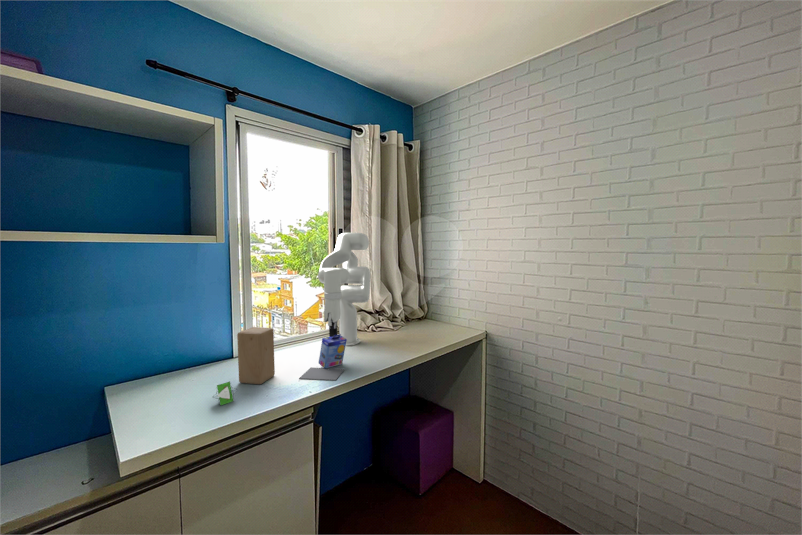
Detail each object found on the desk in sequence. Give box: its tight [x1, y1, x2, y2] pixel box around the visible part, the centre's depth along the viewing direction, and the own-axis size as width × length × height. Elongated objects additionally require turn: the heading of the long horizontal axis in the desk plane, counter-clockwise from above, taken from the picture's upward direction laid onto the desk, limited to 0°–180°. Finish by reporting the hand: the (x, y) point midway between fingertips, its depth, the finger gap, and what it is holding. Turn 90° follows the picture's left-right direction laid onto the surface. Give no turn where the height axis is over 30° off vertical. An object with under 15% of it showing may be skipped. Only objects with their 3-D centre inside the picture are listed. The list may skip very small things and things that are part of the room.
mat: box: [298, 367, 345, 382], centre depth 140 cm, size 12×15×1 cm
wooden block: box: [236, 326, 276, 385], centre depth 134 cm, size 10×10×20 cm
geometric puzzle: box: [212, 381, 239, 406], centre depth 115 cm, size 7×7×8 cm
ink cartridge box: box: [318, 333, 347, 369], centre depth 149 cm, size 10×6×14 cm, turn 137°
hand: (333, 336), depth 153 cm, fingers closed
